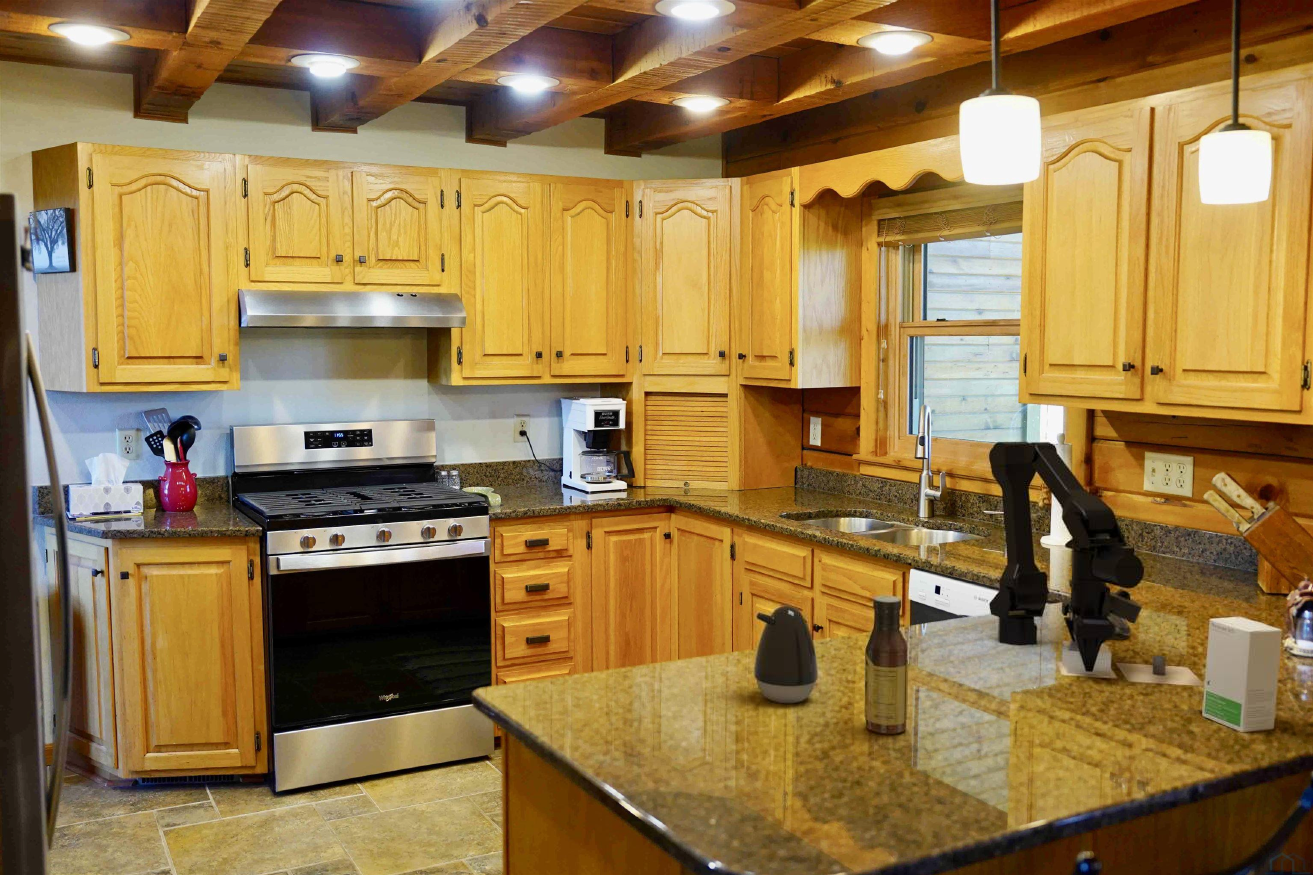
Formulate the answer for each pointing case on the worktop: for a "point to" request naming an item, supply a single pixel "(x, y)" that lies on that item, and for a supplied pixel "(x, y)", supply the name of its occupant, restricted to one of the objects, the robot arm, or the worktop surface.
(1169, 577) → the worktop surface
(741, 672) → the worktop surface
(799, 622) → the pump dispenser
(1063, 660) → the collar
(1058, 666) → the stand
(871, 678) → the sauce bottle
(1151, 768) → the worktop surface
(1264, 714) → the skincare box
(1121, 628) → the carved stone fragment
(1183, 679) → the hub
